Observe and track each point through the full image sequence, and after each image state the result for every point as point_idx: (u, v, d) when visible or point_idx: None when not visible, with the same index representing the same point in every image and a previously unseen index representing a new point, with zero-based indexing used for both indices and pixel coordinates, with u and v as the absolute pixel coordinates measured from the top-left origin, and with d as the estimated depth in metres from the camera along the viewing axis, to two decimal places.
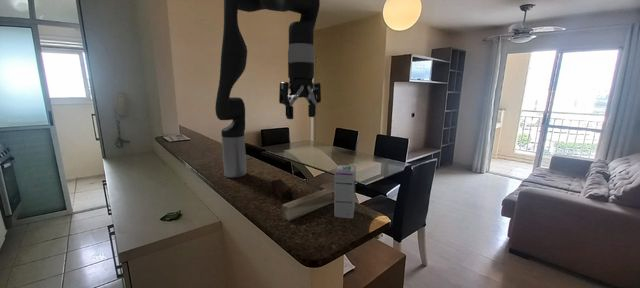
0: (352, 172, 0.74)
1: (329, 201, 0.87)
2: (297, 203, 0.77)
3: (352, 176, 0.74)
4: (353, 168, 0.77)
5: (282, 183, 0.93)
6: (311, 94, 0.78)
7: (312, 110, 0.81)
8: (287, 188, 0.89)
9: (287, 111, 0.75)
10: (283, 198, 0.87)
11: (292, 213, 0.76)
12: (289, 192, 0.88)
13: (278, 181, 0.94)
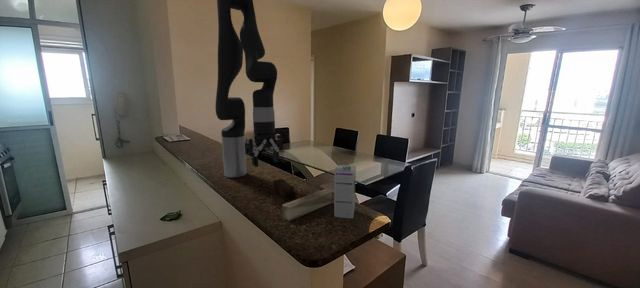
0: (352, 172, 0.74)
1: (329, 201, 0.87)
2: (297, 203, 0.77)
3: (352, 176, 0.74)
4: (353, 168, 0.77)
5: (285, 183, 0.93)
6: (273, 145, 0.96)
7: (275, 157, 0.98)
8: (290, 187, 0.89)
9: (253, 160, 0.92)
10: (286, 197, 0.88)
11: (292, 213, 0.76)
12: (292, 191, 0.89)
13: (281, 181, 0.95)
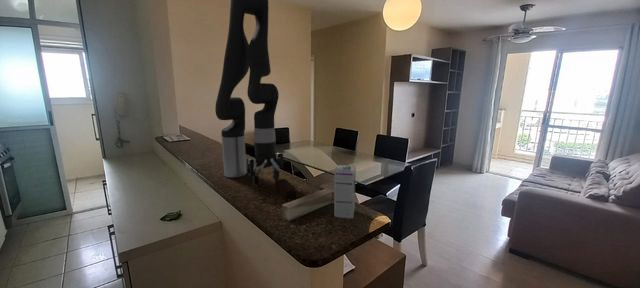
0: (352, 172, 0.74)
1: (329, 201, 0.87)
2: (297, 203, 0.77)
3: (352, 176, 0.74)
4: (353, 168, 0.77)
5: (286, 182, 0.93)
6: (274, 164, 0.97)
7: (276, 175, 1.00)
8: (291, 187, 0.89)
9: (253, 180, 0.94)
10: (287, 197, 0.88)
11: (292, 213, 0.76)
12: (293, 191, 0.89)
13: (282, 180, 0.95)
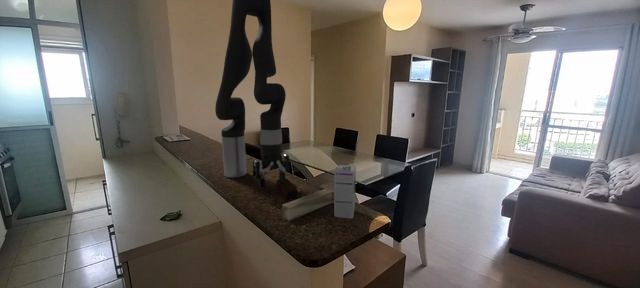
0: (352, 172, 0.74)
1: (329, 201, 0.87)
2: (297, 203, 0.77)
3: (352, 176, 0.74)
4: (353, 168, 0.77)
5: (288, 182, 0.93)
6: (280, 166, 0.95)
7: (282, 177, 0.97)
8: (293, 187, 0.89)
9: (259, 183, 0.91)
10: (289, 197, 0.88)
11: (292, 213, 0.76)
12: (295, 191, 0.89)
13: (284, 180, 0.95)
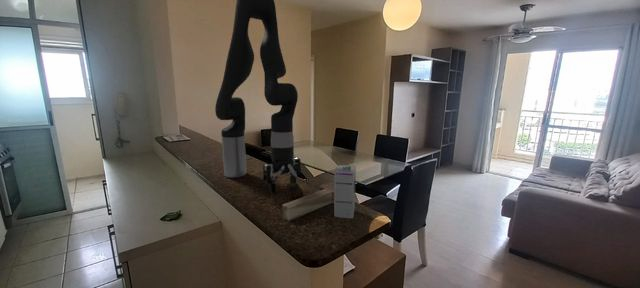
0: (352, 172, 0.74)
1: (329, 201, 0.87)
2: (297, 203, 0.77)
3: (352, 176, 0.74)
4: (353, 168, 0.77)
5: (296, 187, 0.88)
6: (291, 170, 0.90)
7: (293, 182, 0.93)
8: (299, 193, 0.84)
9: (270, 188, 0.87)
10: None
11: (292, 213, 0.76)
12: (300, 197, 0.83)
13: (293, 185, 0.90)
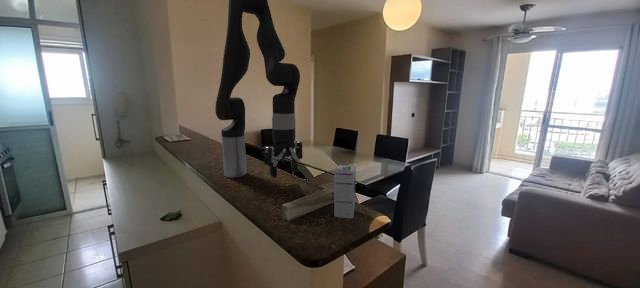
0: (352, 172, 0.74)
1: (329, 201, 0.87)
2: (297, 203, 0.77)
3: (352, 176, 0.74)
4: (353, 168, 0.77)
5: (297, 188, 0.88)
6: (293, 153, 0.88)
7: (294, 166, 0.91)
8: (300, 194, 0.83)
9: (271, 171, 0.85)
10: None
11: (292, 213, 0.76)
12: None
13: (294, 186, 0.90)
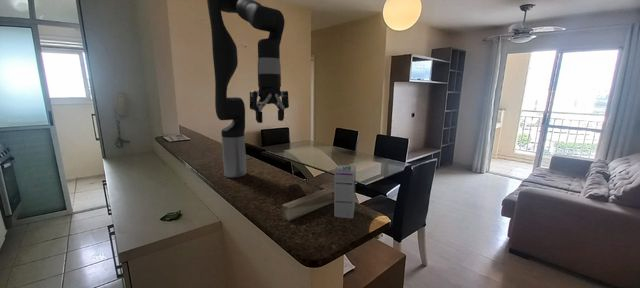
0: (352, 172, 0.74)
1: (329, 201, 0.87)
2: (297, 203, 0.77)
3: (352, 176, 0.74)
4: (353, 168, 0.77)
5: (298, 188, 0.88)
6: (279, 101, 0.90)
7: (281, 115, 0.93)
8: (301, 194, 0.84)
9: (257, 116, 0.87)
10: None
11: (292, 213, 0.76)
12: None
13: (295, 186, 0.90)
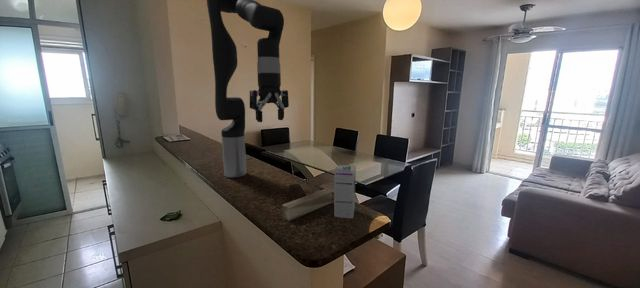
0: (352, 172, 0.74)
1: (329, 201, 0.87)
2: (297, 203, 0.77)
3: (352, 176, 0.74)
4: (353, 168, 0.77)
5: (299, 188, 0.88)
6: (279, 100, 0.90)
7: (281, 114, 0.93)
8: (302, 194, 0.84)
9: (257, 115, 0.87)
10: None
11: (292, 213, 0.76)
12: None
13: (295, 186, 0.90)
